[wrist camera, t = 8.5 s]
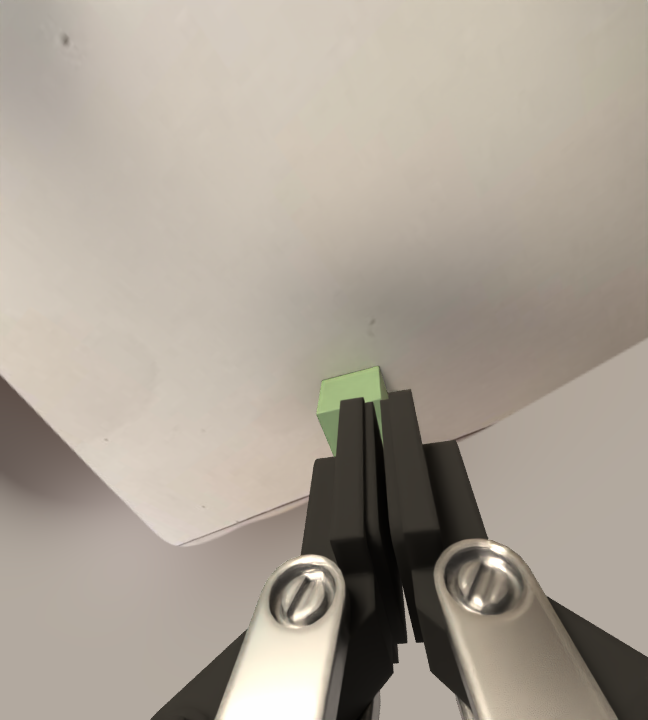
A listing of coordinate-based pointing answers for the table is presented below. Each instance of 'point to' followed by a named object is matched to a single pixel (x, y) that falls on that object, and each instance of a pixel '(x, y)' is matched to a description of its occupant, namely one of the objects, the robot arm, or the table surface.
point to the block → (347, 388)
